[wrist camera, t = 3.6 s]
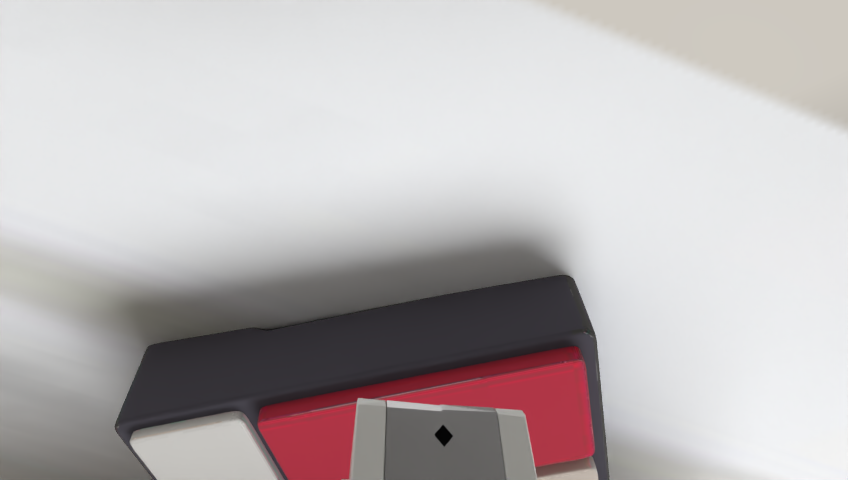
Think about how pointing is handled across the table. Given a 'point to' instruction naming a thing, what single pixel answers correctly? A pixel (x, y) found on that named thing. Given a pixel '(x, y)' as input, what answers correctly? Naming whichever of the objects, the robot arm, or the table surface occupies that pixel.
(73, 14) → the table surface
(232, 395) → the calculator
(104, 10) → the table surface
